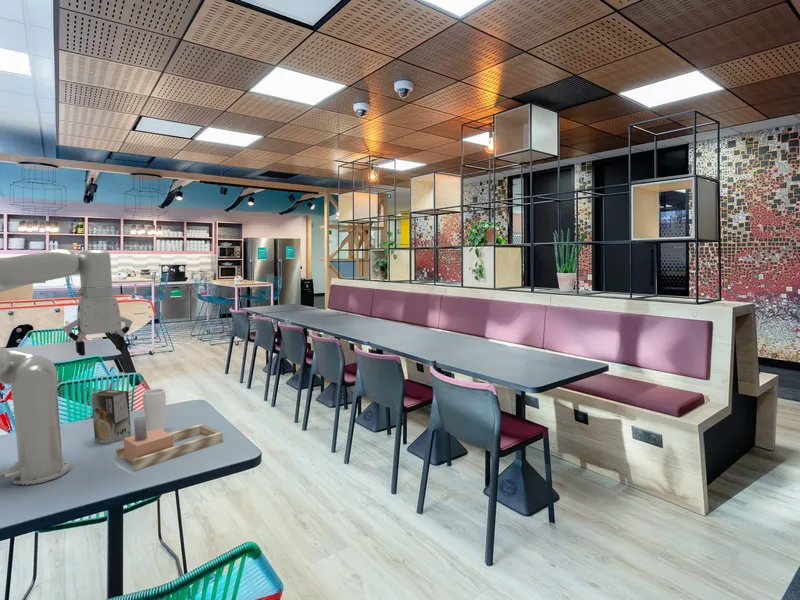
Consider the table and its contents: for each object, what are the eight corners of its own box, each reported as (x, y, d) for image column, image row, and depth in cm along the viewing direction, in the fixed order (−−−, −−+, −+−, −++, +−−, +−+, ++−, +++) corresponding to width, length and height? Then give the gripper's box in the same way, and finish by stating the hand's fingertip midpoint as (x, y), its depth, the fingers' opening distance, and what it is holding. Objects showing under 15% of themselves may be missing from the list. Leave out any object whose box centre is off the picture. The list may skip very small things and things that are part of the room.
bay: (135, 474, 128) (134, 460, 128) (116, 462, 136) (115, 448, 136) (222, 444, 148) (222, 432, 148) (201, 435, 156) (201, 424, 156)
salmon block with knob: (137, 466, 130) (135, 424, 129) (124, 458, 136) (122, 418, 135) (173, 454, 138) (171, 415, 137) (160, 447, 144) (157, 409, 143)
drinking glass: (171, 431, 161) (169, 388, 159) (159, 438, 154) (157, 394, 153) (153, 430, 161) (150, 388, 160) (140, 438, 155) (137, 393, 153)
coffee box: (132, 437, 155) (129, 390, 154) (116, 445, 149) (113, 396, 147) (110, 435, 157) (107, 389, 156) (93, 442, 151) (90, 394, 150)
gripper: (65, 296, 124) (70, 359, 126) (135, 292, 138) (138, 349, 139) (56, 294, 129) (61, 355, 130) (124, 291, 142) (128, 346, 144)
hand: (101, 352), depth 135 cm, fingers open, 9 cm apart
